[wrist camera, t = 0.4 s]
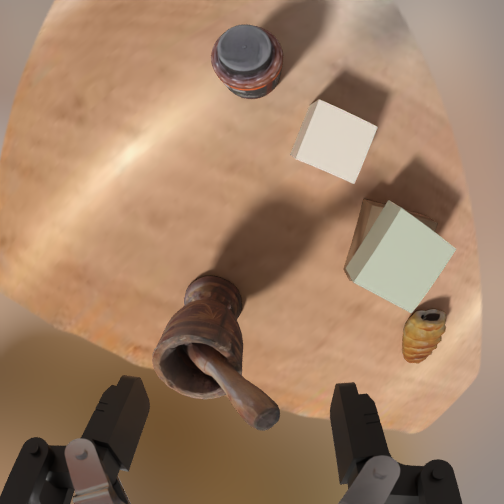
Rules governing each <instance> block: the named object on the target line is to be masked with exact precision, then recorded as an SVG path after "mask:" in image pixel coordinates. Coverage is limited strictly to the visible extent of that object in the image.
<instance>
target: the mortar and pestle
mask: <svg viewBox="0 0 504 504" xmlns="http://www.w3.org/2000/svg"><path fill="white" fill-rule="evenodd" d="M184 304H185V306H184V307H183V308H181V309H180V310H179V311H178V312H177V313H175V315H174V316H173V317H172V318H171V319H170V321H169V323H168V324H167V326H166V328H165V330H164V332H163V334H162V337H161V339H160V341H159V343H158V345H157V347H156V348H155V349H154V352H153V360H152V361H153V367H154V369H155V372H156V373H157V375H158V376H159V378H160V379H161V380H162V381H164V382H165V384H166V385H167V386H168V387H170V388H172V389H174V390H175V391H177V392H178V393H180V394H183V395H185V396H189V397H192V398H201V399H211V398H219V397H220V396H223V395H227V397H228V399H229V400H230V401H231V403H232V405H233V406H234V408H235V409H236V411H237V412H238V413H239V414H240V416H241V417H242V418H243V419H244V420H245V421H246V422H247V423H248V424H249V425H250V426H252V427H254V428H256V429H258V430H267V429H269V428H271V427H272V426H273V425H274V424H276V423H277V422H278V420H279V417H280V410H279V407H278V405H277V404H276V403H275V402H274V401H273V400H272V399H271V398H270V397H269V396H268V395H266V394H265V393H264V392H263V391H262V390H261V389H259V388H258V387H256V386H255V385H253V384H252V383H250V382H249V381H248V380H246V379H245V378H244V377H243V376H242V355H243V340H242V333H241V330H240V327H239V324H238V322H237V319H238V317H239V315H240V313H241V310H242V303H241V296H240V294H239V291H238V289H237V288H236V287H235V286H234V285H233V284H232V283H230V282H229V281H227V280H225V279H222V278H219V277H215V276H205V277H202V278H199V279H197V280H196V281H194V282H193V283H192V284H190V285H189V286H188V288H187V290H186V294H185V298H184Z"/></svg>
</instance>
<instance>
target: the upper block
mask: <svg viewBox="0 0 504 504" xmlns="http://www.w3.org/2000/svg"><path fill="white" fill-rule="evenodd" d="M455 250H456V249H455V248H454V247H453V246H452V245H450V244H449V243H448V242H447V241H445V240H444V239H443V238H442V237H440V236H439V235H438V234H436V233H435V232H434V231H432V230H431V229H430V228H429V227H427V226H426V225H424V224H423V223H422V222H420V221H419V220H418V219H416V218H415V217H414V216H412V215H411V214H409V213H408V212H407V211H405V210H404V209H402V208H401V207H399V206H398V205H396V204H394V203H393V202H391V201H390V200H388V202H387V203H386V205H385V207H384V208H383V210H382V212H381V213H380V215H379V216H378V218H377V220H376V221H375V223H374V225H373V226H372V228H371V229H370V231H369V233H368V234H367V236H366V237H365V239H364V241H363V242H362V244H361V245H360V247H359V248H358V250H357V251H356V253H355V255H354V256H353V258H352V259H351V261H350V262H349V264H348V265H347V267H346V270H347V272H348V274H349V275H350V277H351V279H352V281H353V283H355V284H357V285H359V286H361V287H363V288H365V289H367V290H369V291H370V292H372V293H374V294H376V295H378V296H380V297H382V298H384V299H386V300H387V301H389V302H391V303H393V304H395V305H397V306H399V307H401V308H402V309H404V310H406V311H408V312H410V313H412V312H413V311H414V310H415V308H416V307H417V306H418V304H419V303H420V302H421V300H422V299H423V297H424V296H425V295H426V293H427V292H428V291H429V289H430V288H431V286H432V285H433V283H434V282H435V281H436V279H437V278H438V276H439V275H440V273H441V272H442V270H443V269H444V267H445V266H446V264H447V263H448V261H449V260H450V258H451V256H452V255H453V253H454V252H455Z"/></svg>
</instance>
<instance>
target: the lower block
mask: <svg viewBox="0 0 504 504" xmlns="http://www.w3.org/2000/svg"><path fill="white" fill-rule="evenodd" d="M385 205H386V204H382V203H378V202H374V201H370V200H366V199H363V203H362V207H361V211H360V214H359V218H358V222H357V225H356V229H355V232H354V236H353V239H352V243H351V246H350V250H349V253H348V256H347V260H346V263H345V266H344V271H345V273H346V275H347V277H348V279H349V280H350V281H352V279H351V277H350V275H349V274H348V272H347V270H346V267H347V265H348V264H349V262H350V261H351V259H352V258H353V256H354V255H355V253H356V251H357V250H358V248H359V247H360V245H361V244H362V242H363V241H364V239H365V237H366V236H367V234H368V233H369V231H370V229H371V228H372V226H373V225H374V223H375V221H376V220H377V218H378V216H379V215H380V213H381V212H382V210H383V208H384V207H385ZM405 211H407V212H408V213H409V214H411V215H412V216H414V217H415V218H416V219H418V220H419V221H420V222H422V223H423V224H424V225H426V226H427V227H429V228H430V229H431V230H432V231H434V232H435V230H436V227H437V224H438V223H437V222H435V221H434V220H432V219H431V218H429V217H427V216H425V215H422V214H419V213H415V212H411V211H408V210H405Z"/></svg>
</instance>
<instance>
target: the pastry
mask: <svg viewBox="0 0 504 504" xmlns="http://www.w3.org/2000/svg"><path fill="white" fill-rule="evenodd" d="M445 317H446V314H445V313H444V311H440V310H437V309H431V310H427V311H417V312H415V313H414V314H413V315H412V316H411V317H410V318H409V319H408V320H407V322H406V323H405V327H404V330H403V339H402V352H403V355H404V358H405V360H406V361H407V362H409V363H420V362H421V361H423V360H425V359H426V358H427V357H428V355H431V353H432V351H433V350H434V349H436V348H437V344H438V343H439V342H440V341H441V335H442V334H443V333H444V332H445V329H446V326H445Z"/></svg>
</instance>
